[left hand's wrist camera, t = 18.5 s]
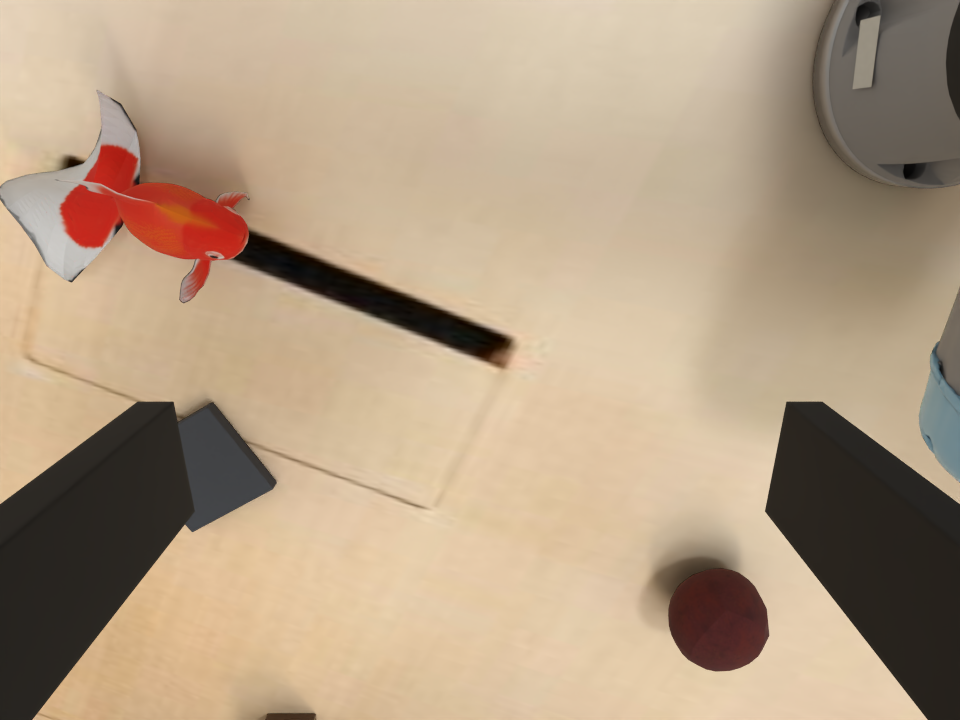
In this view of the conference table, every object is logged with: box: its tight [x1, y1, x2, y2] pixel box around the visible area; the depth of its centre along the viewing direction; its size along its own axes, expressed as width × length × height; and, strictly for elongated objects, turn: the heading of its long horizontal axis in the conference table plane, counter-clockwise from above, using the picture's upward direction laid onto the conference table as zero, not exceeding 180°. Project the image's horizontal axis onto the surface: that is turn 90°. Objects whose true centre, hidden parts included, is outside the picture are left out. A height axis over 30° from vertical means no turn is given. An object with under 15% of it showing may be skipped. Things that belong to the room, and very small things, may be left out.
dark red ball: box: [668, 568, 769, 671], centre depth 46 cm, size 7×8×7 cm
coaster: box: [178, 403, 277, 532], centre depth 45 cm, size 8×8×1 cm
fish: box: [0, 90, 250, 303], centre depth 35 cm, size 11×16×10 cm
